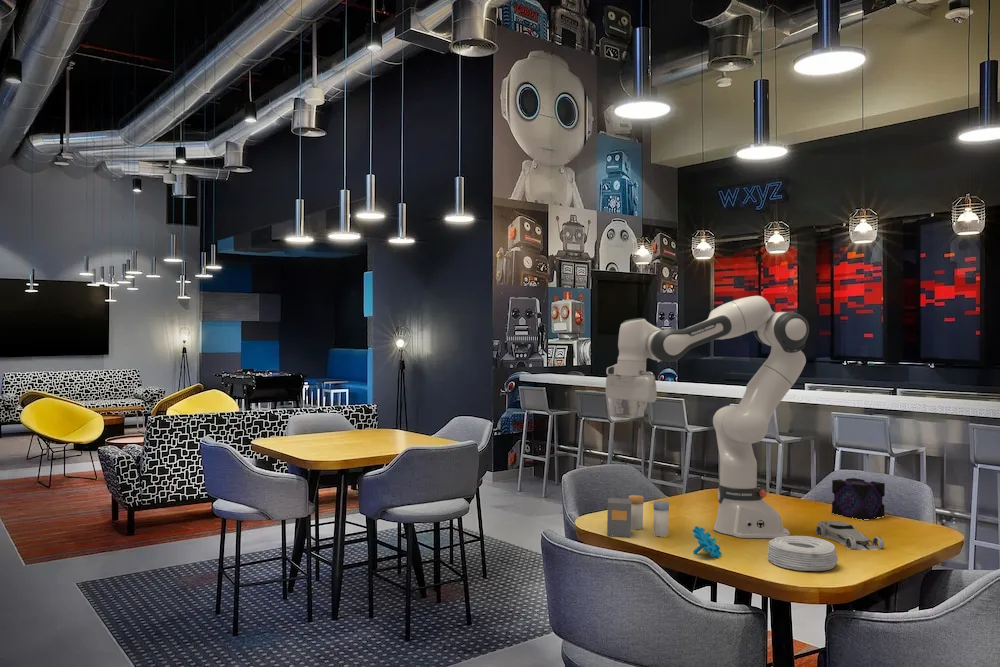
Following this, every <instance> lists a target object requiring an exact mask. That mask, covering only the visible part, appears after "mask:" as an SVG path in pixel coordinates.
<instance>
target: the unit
mask: <svg viewBox="0 0 1000 667" xmlns="http://www.w3.org/2000/svg"><path fill="white" fill-rule="evenodd" d="M606 519H607V522H606V524H607V525H606V527H607V528H606V529H607V530H606V536H607V535H610V536H609V537H614V536H622V537H621V538H630V537H631V538H632V529H631V499H629V498H619V497H618V498H617V497H608V500H607V517H606ZM612 535H613V536H612Z"/></svg>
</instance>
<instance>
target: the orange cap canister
mask: <svg viewBox="0 0 1000 667" xmlns="http://www.w3.org/2000/svg"><path fill="white" fill-rule="evenodd" d="M644 498H645V497H644V495H639V494H637V495H636V494H631V495H628V499H631V530H633V529H641V530H643V529H644V528H643V527H644V502H645V500H644ZM642 528H643V529H642Z"/></svg>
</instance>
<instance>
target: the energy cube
mask: <svg viewBox="0 0 1000 667" xmlns="http://www.w3.org/2000/svg"><path fill="white" fill-rule="evenodd" d="M831 481H832V482H831V483H832V485H831V486H832V488H831V489H832V490H831V493H832V494H833V501H832V502H831V514H832V513H834V514H838V515H843V516H844V517H849V516H850V517H853V518H857V519H862V520H864V519H871V520H872V519H875V518H877V517H882V516H884V517H885V505H884V504H883V497H885V495H886V494H885V490H886V488H885V484H886V483H885V482H878V481H874V480H873V481H865V479H862V478H857V477H856V478H855V477H849V478H845V480H843V479H832V480H831ZM838 515H837V516H838ZM850 517H849V518H850ZM874 517H875V518H874Z"/></svg>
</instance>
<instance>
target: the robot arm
mask: <svg viewBox="0 0 1000 667" xmlns="http://www.w3.org/2000/svg"><path fill="white" fill-rule="evenodd" d="M619 326H620V327H619V332H618V340H617V348H618V356H617V363H615V364H613V365H611V366H608V367H606V372H605V373H606V375H607V376H606V379H605V395H606V397H607V398H608V399H613V404H614V407H615V409H616V411H615V412H616V414H618V415H619V414H621V415H622V414H624V411H625V409H624V408H623V407H622V402H623V400H625V401H634V402H638V405H639V407H638V409H637V410H636V414H635V415H636V416H637V417H640V418H641V417H644V416H645V411H646V408H647V406H648V403H656V401H657V398H658V396H657V395H658V394H657V392H658V390H657V382H656V376H655V374H654V373H653V372H652V371H647V359H651V360H653V361H658V362H659V361H660V362H664V363H674V362H677V361H679V360H680V359H682V357H684V356H685V355H686V354H687V353H688V352H689V351H690V350H692V349H694V348H696V347H698V346H701V345H703V344H706V343H709V342H712V341H715V340H726V339H733V338H736V337H740V336H743V335H745V334H748V333H751V332H752V333H753V334H754V337H755V338H756V339H757V341H758V342H759V343H760V344H762V345H764V346H767V347H770V353H769V355H768V356H767V359H766V360H765V361H764V362H763V364H762V365H761V366H760V367H759V368H758V370H757V371H756V373H755V374H754V375H753V376H752V378H751V379H750V380H749V381H748V383H747V384H746V386H745V392H744V394H743V396H742V399H741V400H740V402H739V403H738V404H737V405H732V404H731V405H725V406H723V407H720V408H719V409H718V410H716V412H715V413H714V415H713V417H712V424H713V428H714V430H715V433H716V441H717V449H718V454H719V464H720V465H719V481H720V482H719V484H718V488H717V500H718V509H717V514H716V520H715V524H714V527H713V530H714V531H716V532H718V533H721V534H723V535H724V534H725V535H729V536H733V537H736V538H739V539H775V538H778V537H785V536H791V533H790V530H789V529H787V528H785V527H783V521H782V518H781V514H780V513H779V512H778V511H777V510H776V509H775V508H774V507H772V506H771V505H770V504H769V503H768V502H766V501H765V500H764V498H767V495H768V494H767V492H766V490H764V489H762V488H760V487H758V486H757V484H758V482H757V479H758V477H757V476H758V463H757V459H756V457H755V453H754V449H753V446H752V444H756V443H759V442H761V441H763V439H765V437H766V436H767V433H768V430H769V428H768V426H769V423H770V421H771V418H772V416H773V414H774V413H775V410H776V409H777V407H778V405H779V404H780V403H781V401H782V400H783V399H784V397H785V396H786V395H787V393H788V392H789V391H790V389H791V388H792V387H793V386H794V385H795V384H796V381H797V380H798V378H799V377H800V375H801V374H802V372H803V370H804V367H805V365H806V363H807V359H806V355H805V353H804V352H803V351H802V350H803V349H805V346H806V341H807V339H808V337H809V333H810V326H809V322H808V320H807V319H806V318H805V317H804V316H803V315H801V314H799V313H797V312H794V311H787V312H786V311H778V312H775V311H773V310H772V308H771V305H770V302H769V301H768V300H767V299H766V298H765V297H763V296H761V295H752V296H747V297H746V296H744V297H741V298H737V299H733V300H731V301H729V302H726V303H723V304H721V305H719V306H717V307H716V308H714V309H712V310H711V311H710V312H709V315H708V317H707V319H705V320H704V321H701V322H698V323H696V324H694V325H691V326H688V327H686V328H683V329H682V328H681V329H679V328H665V329H661V328H660V327H658V326H655V325H654V324H651V323H650V322H649V321H647V319H646V318H643V317H638V318H630V319H626V320H624V321H623V322H622V323H621V324H620V325H619Z"/></svg>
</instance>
